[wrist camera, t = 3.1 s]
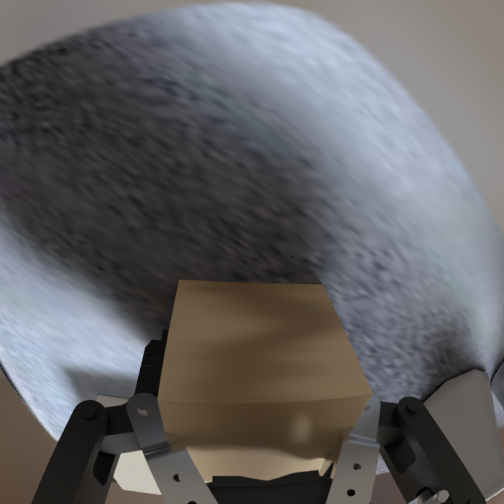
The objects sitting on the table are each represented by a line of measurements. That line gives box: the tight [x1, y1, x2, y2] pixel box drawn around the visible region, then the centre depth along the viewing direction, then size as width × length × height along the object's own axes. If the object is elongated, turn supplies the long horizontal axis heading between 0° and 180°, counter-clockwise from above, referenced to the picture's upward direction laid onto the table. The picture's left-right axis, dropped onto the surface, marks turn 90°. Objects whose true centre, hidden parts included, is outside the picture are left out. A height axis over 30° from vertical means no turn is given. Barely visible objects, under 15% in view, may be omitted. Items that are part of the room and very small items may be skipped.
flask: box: [423, 369, 504, 501], centre depth 16 cm, size 7×7×10 cm
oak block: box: [157, 280, 372, 481], centre depth 12 cm, size 6×6×6 cm
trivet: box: [96, 395, 212, 495], centre depth 17 cm, size 9×9×3 cm
